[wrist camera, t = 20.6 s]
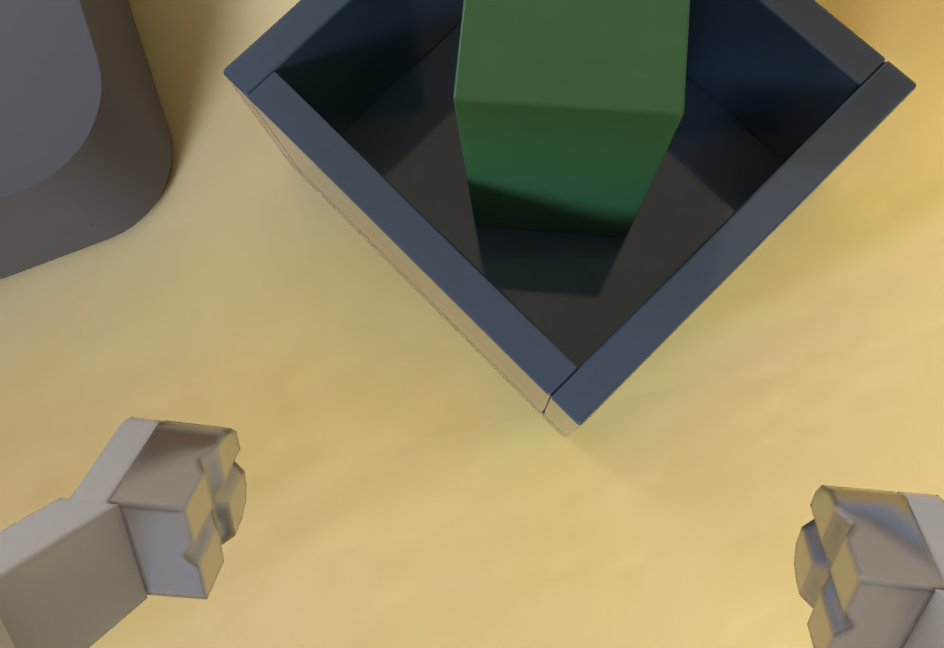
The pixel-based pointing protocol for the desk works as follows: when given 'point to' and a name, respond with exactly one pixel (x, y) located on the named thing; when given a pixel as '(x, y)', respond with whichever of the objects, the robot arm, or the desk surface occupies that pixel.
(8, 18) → the streaming box
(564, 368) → the dark blue tray
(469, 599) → the desk surface
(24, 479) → the desk surface
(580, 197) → the green block
